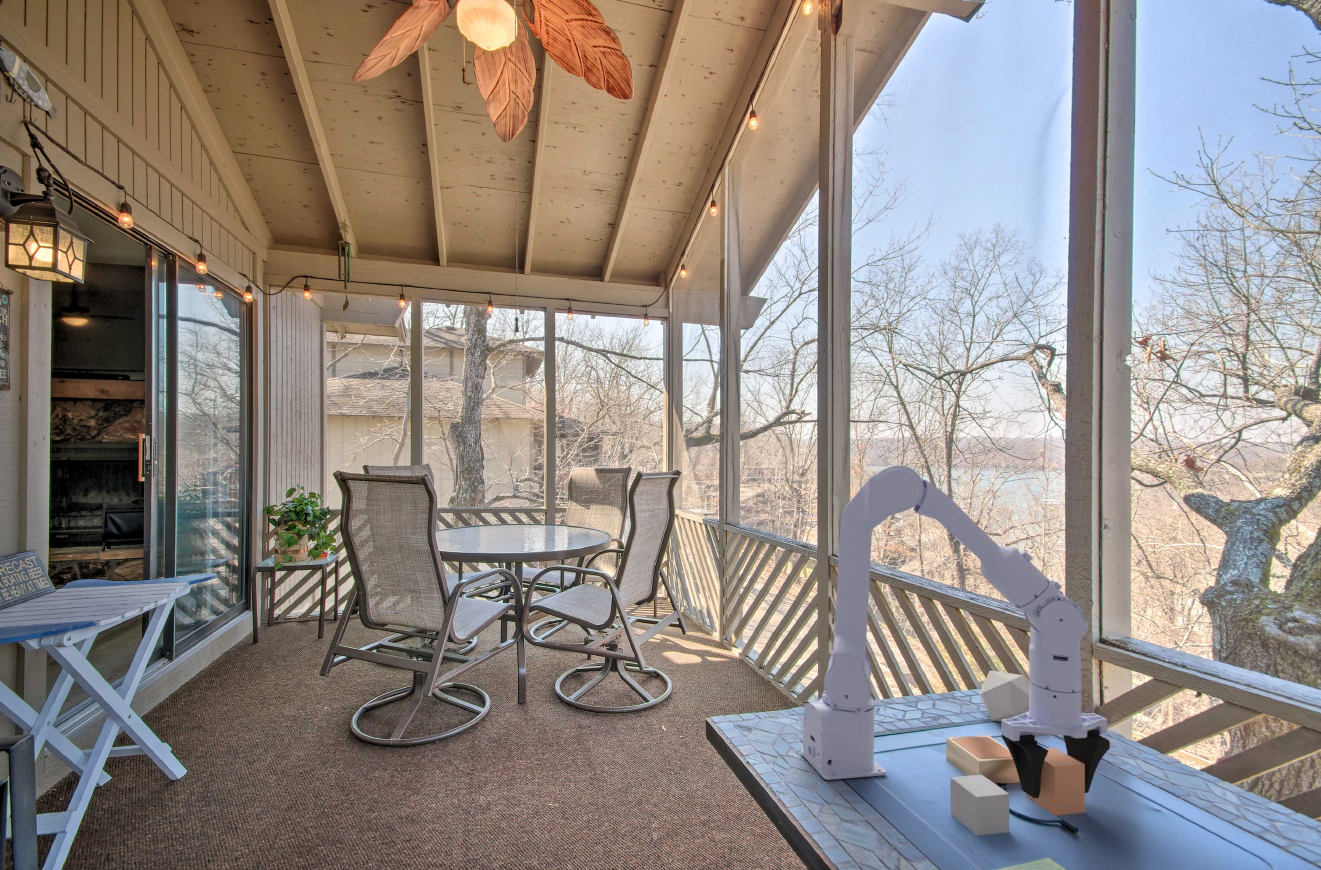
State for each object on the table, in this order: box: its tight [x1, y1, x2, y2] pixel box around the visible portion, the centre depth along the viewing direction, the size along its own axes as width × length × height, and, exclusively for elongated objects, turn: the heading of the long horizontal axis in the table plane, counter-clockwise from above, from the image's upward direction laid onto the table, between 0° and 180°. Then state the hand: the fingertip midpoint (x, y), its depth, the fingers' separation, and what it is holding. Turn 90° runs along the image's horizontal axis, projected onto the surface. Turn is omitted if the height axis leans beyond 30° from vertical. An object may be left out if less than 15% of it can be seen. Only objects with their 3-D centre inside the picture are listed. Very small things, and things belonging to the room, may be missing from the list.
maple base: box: [945, 734, 1020, 785], centre depth 86 cm, size 7×7×4 cm
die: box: [978, 670, 1029, 723], centre depth 103 cm, size 8×9×10 cm
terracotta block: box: [1025, 747, 1086, 816], centre depth 77 cm, size 4×4×6 cm
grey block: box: [950, 775, 1010, 837], centre depth 73 cm, size 4×4×4 cm
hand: (1055, 791), depth 77 cm, fingers open, 7 cm apart
